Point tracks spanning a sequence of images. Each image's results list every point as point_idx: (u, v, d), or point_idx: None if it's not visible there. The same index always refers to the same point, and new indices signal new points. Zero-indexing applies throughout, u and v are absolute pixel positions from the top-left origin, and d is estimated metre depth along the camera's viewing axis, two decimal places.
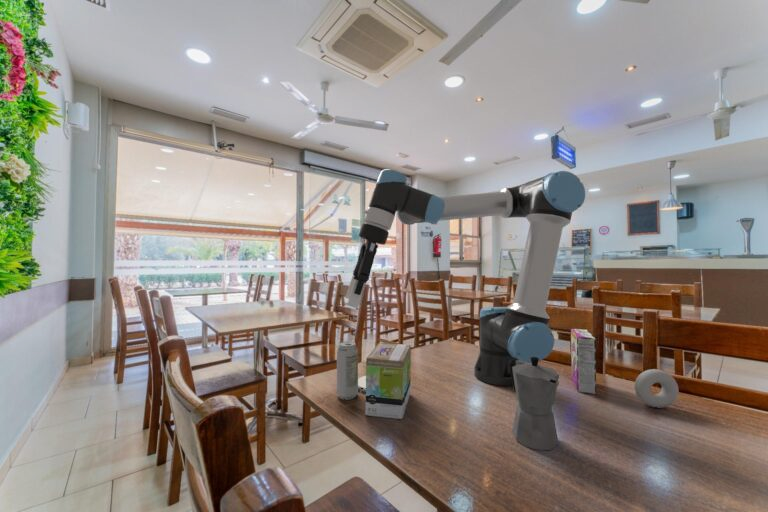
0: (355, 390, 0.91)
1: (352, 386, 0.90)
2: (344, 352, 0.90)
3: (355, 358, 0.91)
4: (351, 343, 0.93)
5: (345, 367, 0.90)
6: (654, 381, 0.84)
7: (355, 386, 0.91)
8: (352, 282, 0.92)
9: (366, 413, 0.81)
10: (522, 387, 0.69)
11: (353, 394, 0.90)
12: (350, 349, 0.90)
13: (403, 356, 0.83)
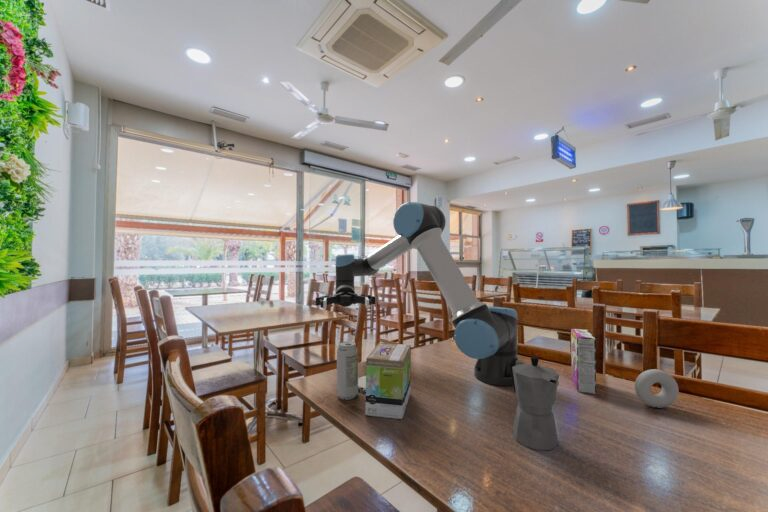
0: (355, 390, 0.91)
1: (352, 386, 0.90)
2: (344, 352, 0.90)
3: (355, 358, 0.91)
4: (351, 343, 0.93)
5: (345, 367, 0.90)
6: (654, 381, 0.84)
7: (355, 386, 0.91)
8: (365, 304, 1.08)
9: (366, 413, 0.81)
10: (522, 387, 0.69)
11: (353, 394, 0.90)
12: (350, 349, 0.90)
13: (403, 356, 0.83)
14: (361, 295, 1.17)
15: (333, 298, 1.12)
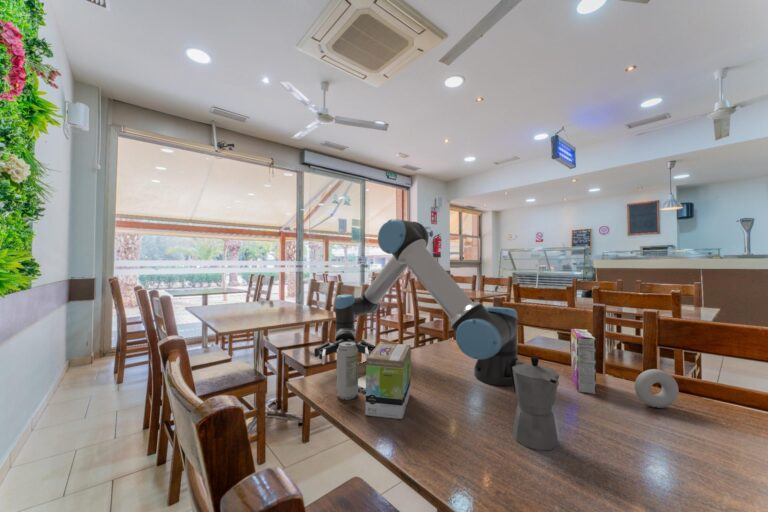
0: (355, 390, 0.91)
1: (352, 386, 0.90)
2: (344, 352, 0.90)
3: (355, 358, 0.91)
4: (351, 343, 0.93)
5: (345, 367, 0.90)
6: (654, 381, 0.84)
7: (355, 386, 0.91)
8: (365, 355, 1.05)
9: (366, 413, 0.81)
10: (522, 387, 0.69)
11: (353, 394, 0.90)
12: (350, 349, 0.90)
13: (403, 356, 0.83)
14: (361, 342, 1.15)
15: (332, 347, 1.09)
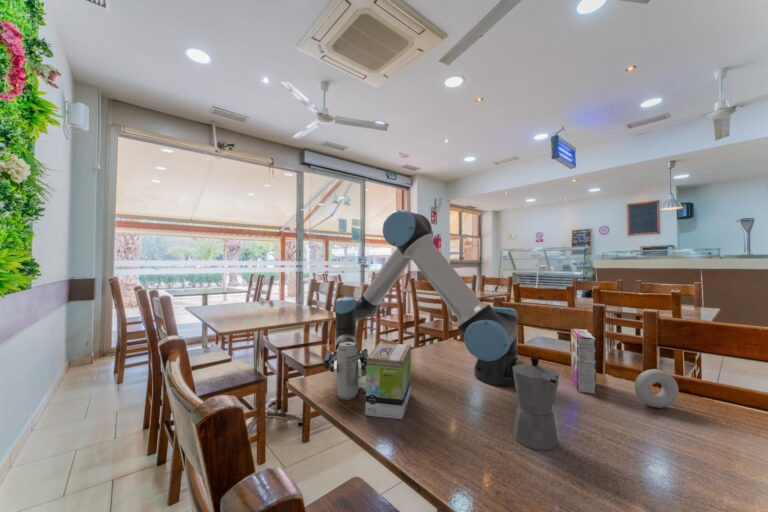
0: (355, 390, 0.91)
1: (352, 386, 0.90)
2: (344, 352, 0.90)
3: (355, 358, 0.91)
4: (351, 343, 0.93)
5: (345, 367, 0.90)
6: (654, 381, 0.84)
7: (355, 386, 0.91)
8: None
9: (366, 413, 0.81)
10: (522, 387, 0.69)
11: (353, 394, 0.90)
12: (350, 349, 0.90)
13: (403, 356, 0.82)
14: (362, 351, 1.03)
15: None
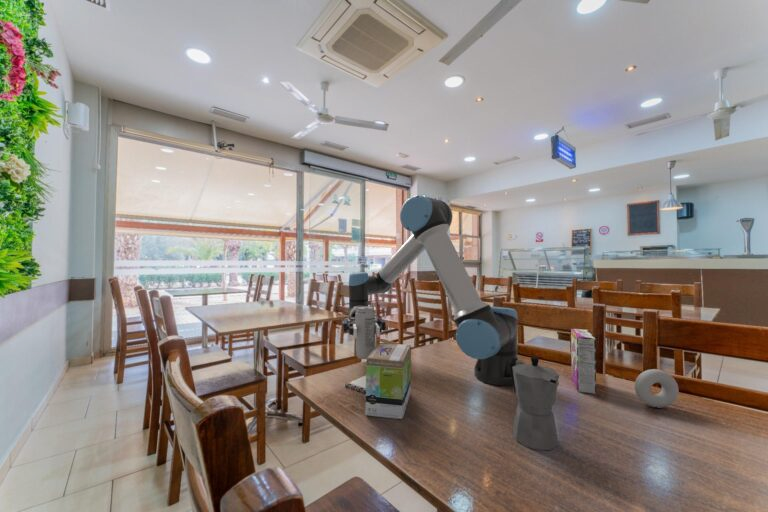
0: None
1: (370, 346, 0.96)
2: (363, 315, 0.95)
3: (373, 320, 0.97)
4: (369, 307, 0.99)
5: (364, 328, 0.96)
6: (654, 381, 0.84)
7: (373, 347, 0.97)
8: (375, 331, 0.99)
9: (366, 413, 0.81)
10: (522, 387, 0.69)
11: None
12: (369, 311, 0.96)
13: (403, 356, 0.83)
14: (377, 318, 1.09)
15: None
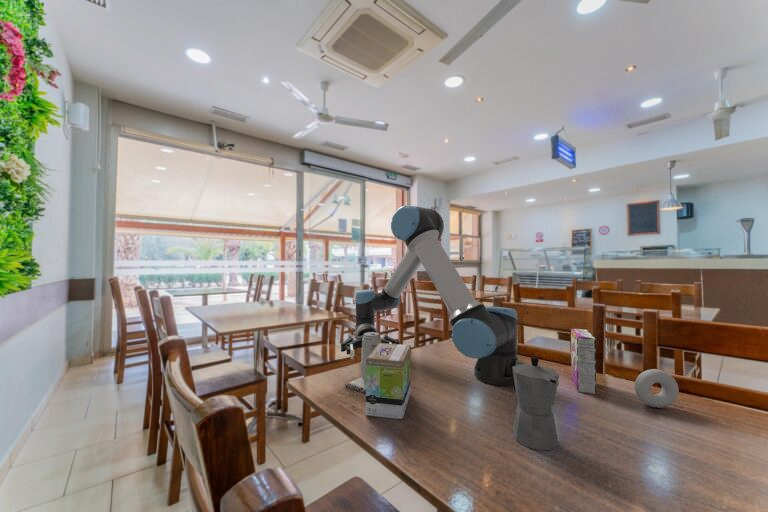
0: None
1: None
2: (370, 341, 0.98)
3: None
4: (375, 333, 1.02)
5: None
6: (654, 381, 0.84)
7: None
8: None
9: (366, 413, 0.81)
10: (522, 387, 0.69)
11: None
12: (375, 338, 0.99)
13: (403, 356, 0.83)
14: (384, 337, 1.13)
15: (358, 342, 1.08)
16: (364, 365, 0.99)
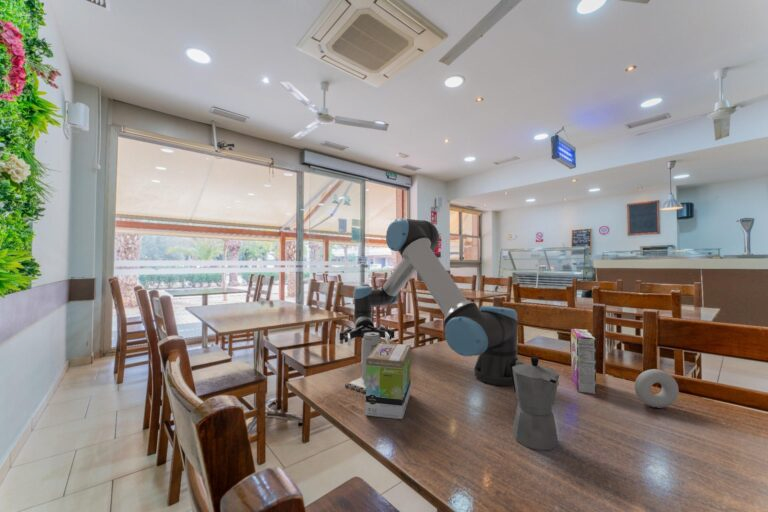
0: None
1: None
2: (370, 341, 0.98)
3: None
4: (375, 333, 1.02)
5: None
6: (654, 381, 0.84)
7: None
8: (385, 339, 1.17)
9: (366, 413, 0.81)
10: (522, 387, 0.69)
11: None
12: (375, 338, 0.99)
13: (403, 356, 0.83)
14: (380, 328, 1.26)
15: (355, 332, 1.21)
16: (364, 365, 0.99)
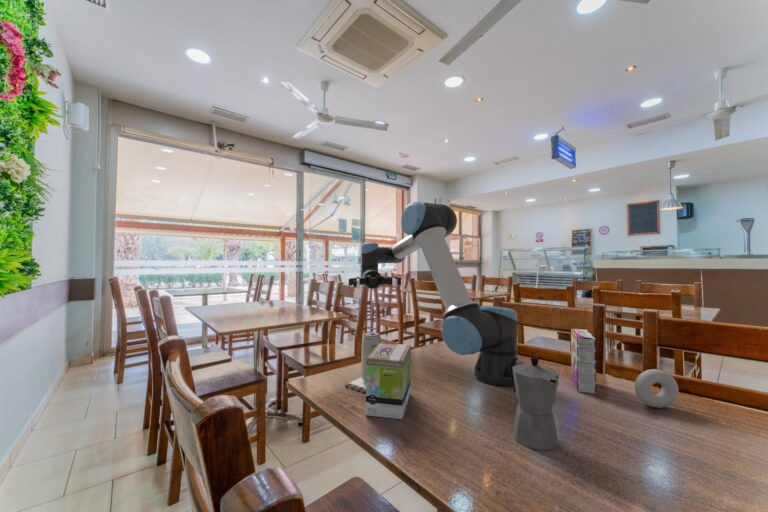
0: None
1: None
2: (370, 341, 0.98)
3: None
4: (375, 333, 1.02)
5: None
6: (654, 381, 0.84)
7: None
8: (393, 284, 1.21)
9: (366, 413, 0.81)
10: (522, 387, 0.69)
11: None
12: (375, 338, 0.99)
13: (403, 356, 0.83)
14: (387, 277, 1.31)
15: (363, 279, 1.26)
16: (364, 365, 0.99)
